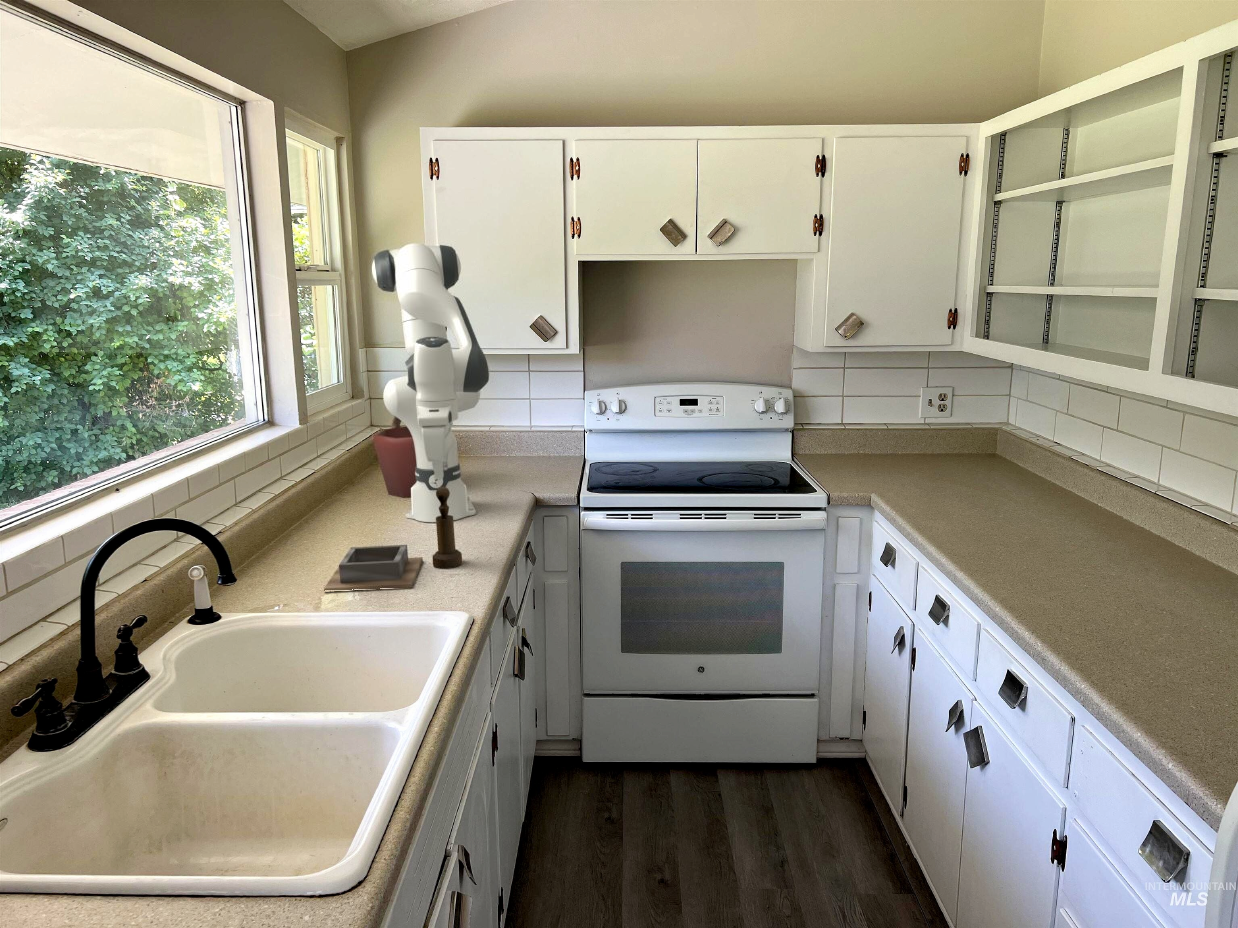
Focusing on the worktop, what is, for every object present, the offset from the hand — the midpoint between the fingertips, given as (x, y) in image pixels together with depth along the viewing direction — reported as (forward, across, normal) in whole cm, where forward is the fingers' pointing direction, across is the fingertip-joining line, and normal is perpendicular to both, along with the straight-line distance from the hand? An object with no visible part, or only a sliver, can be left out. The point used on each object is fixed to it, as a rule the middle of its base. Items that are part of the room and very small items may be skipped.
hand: (441, 473), depth 195 cm
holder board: (+21, +6, -15) cm, 27 cm away
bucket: (+20, -72, -17) cm, 77 cm away
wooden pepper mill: (+21, 0, 0) cm, 21 cm away
